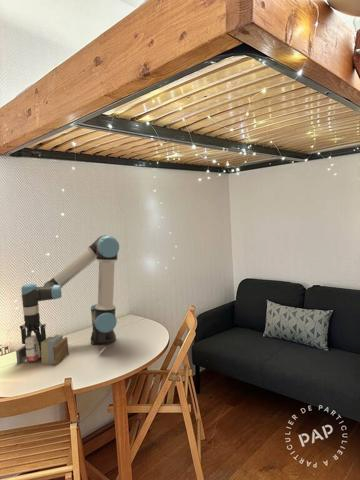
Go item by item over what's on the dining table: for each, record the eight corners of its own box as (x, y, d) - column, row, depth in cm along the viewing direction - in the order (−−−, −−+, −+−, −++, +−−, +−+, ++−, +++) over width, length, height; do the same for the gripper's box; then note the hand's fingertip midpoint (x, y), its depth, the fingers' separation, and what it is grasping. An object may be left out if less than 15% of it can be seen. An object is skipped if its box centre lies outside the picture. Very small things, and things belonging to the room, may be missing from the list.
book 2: (64, 356, 179) (62, 334, 178) (55, 363, 170) (54, 341, 169) (57, 356, 179) (56, 334, 178) (49, 363, 170) (47, 341, 170)
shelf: (68, 356, 181) (67, 337, 180) (57, 367, 168) (55, 346, 168) (29, 357, 184) (27, 337, 183) (15, 367, 171) (13, 347, 170)
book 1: (57, 356, 179) (56, 336, 178) (49, 363, 171) (48, 342, 170) (50, 356, 180) (49, 336, 179) (41, 363, 171) (40, 342, 170)
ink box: (35, 361, 171) (32, 338, 170) (26, 361, 172) (23, 339, 171) (44, 354, 180) (42, 333, 179) (36, 354, 181) (34, 333, 180)
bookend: (30, 356, 181) (28, 344, 181) (20, 364, 172) (18, 350, 172) (27, 356, 181) (26, 344, 181) (17, 364, 173) (16, 351, 172)
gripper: (51, 310, 177) (55, 353, 178) (19, 311, 179) (24, 353, 181) (43, 315, 170) (48, 359, 171) (11, 316, 172) (15, 359, 173)
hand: (35, 356), depth 176 cm, fingers closed on ink box, 5 cm apart
